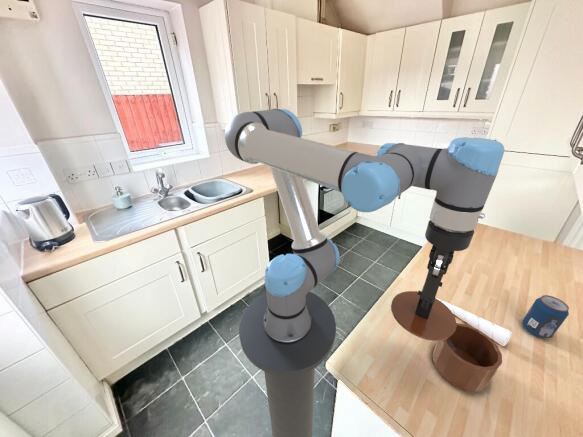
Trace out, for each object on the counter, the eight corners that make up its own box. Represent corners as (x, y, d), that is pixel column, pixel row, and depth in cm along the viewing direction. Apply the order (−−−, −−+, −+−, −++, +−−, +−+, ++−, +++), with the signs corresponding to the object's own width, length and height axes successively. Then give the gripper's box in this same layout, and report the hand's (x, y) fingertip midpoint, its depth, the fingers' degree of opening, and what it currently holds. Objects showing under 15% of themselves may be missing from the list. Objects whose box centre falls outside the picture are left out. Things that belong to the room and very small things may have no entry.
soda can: (532, 319, 78) (550, 291, 72) (557, 338, 72) (579, 310, 66) (514, 323, 77) (531, 295, 71) (538, 342, 71) (559, 314, 65)
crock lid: (382, 321, 57) (388, 294, 52) (399, 287, 66) (405, 261, 62) (450, 355, 49) (464, 326, 45) (458, 310, 59) (469, 283, 55)
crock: (428, 372, 64) (438, 350, 60) (436, 337, 73) (445, 315, 69) (487, 403, 58) (503, 381, 53) (487, 360, 67) (501, 338, 62)
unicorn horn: (432, 291, 89) (435, 281, 87) (509, 341, 71) (516, 331, 69) (424, 296, 87) (427, 286, 85) (502, 349, 69) (509, 339, 67)
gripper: (472, 251, 38) (434, 344, 49) (477, 213, 49) (446, 296, 60) (420, 236, 42) (396, 326, 53) (436, 204, 53) (413, 284, 64)
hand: (423, 310), depth 57 cm, fingers closed on crock lid, 3 cm apart
